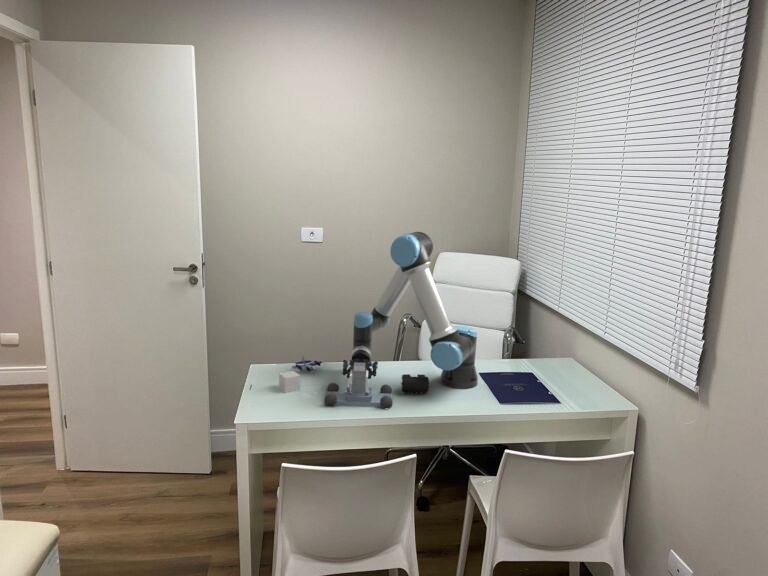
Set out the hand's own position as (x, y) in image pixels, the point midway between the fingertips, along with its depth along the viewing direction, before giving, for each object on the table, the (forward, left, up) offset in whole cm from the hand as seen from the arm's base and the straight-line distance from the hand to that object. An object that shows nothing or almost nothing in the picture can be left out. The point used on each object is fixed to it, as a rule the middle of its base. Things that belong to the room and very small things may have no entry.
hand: (358, 380), depth 205 cm
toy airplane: (+22, -33, -10) cm, 41 cm away
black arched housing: (-21, -15, -10) cm, 28 cm away
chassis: (0, -5, -10) cm, 11 cm away
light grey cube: (+27, -14, -10) cm, 32 cm away
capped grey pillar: (0, -5, -6) cm, 8 cm away
